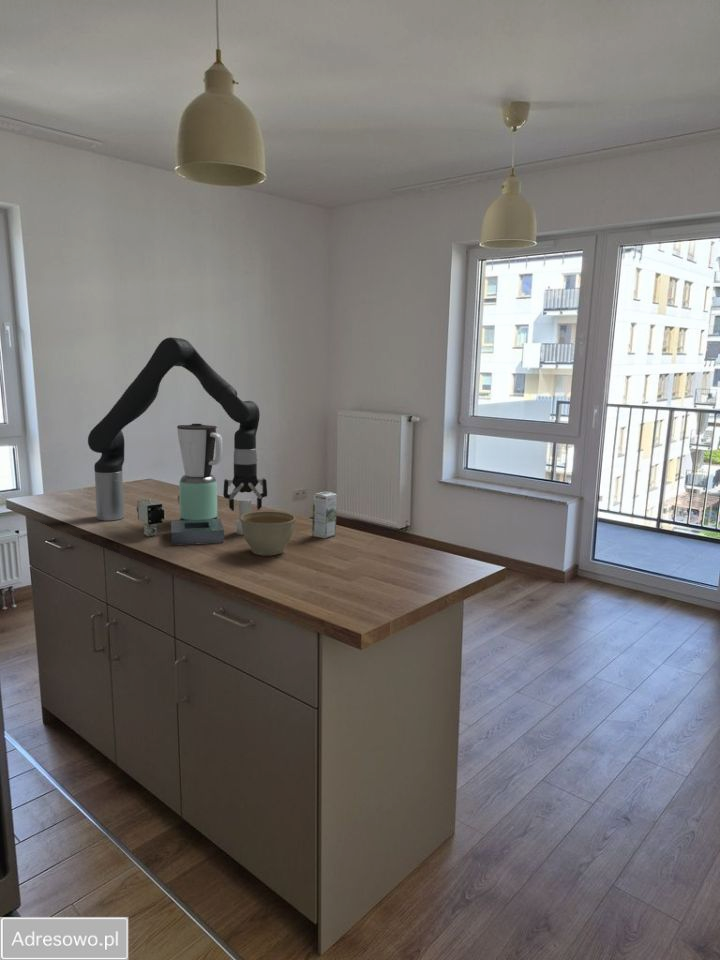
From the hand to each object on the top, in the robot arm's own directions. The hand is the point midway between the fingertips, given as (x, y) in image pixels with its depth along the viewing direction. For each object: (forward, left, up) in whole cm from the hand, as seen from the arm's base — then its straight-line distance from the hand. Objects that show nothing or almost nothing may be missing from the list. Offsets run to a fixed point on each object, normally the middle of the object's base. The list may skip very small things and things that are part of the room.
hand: (245, 509), depth 215 cm
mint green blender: (-18, -14, -8) cm, 24 cm away
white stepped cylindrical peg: (0, 0, -8) cm, 8 cm away
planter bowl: (+24, +4, -8) cm, 26 cm away
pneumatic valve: (-3, -30, -8) cm, 31 cm away
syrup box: (+9, +25, -8) cm, 28 cm away
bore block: (+3, -16, -8) cm, 18 cm away
